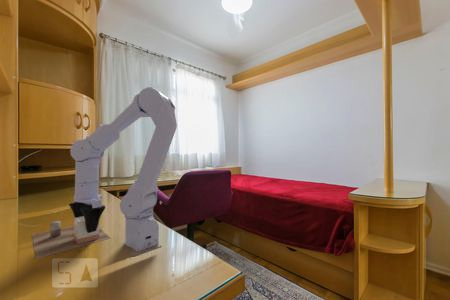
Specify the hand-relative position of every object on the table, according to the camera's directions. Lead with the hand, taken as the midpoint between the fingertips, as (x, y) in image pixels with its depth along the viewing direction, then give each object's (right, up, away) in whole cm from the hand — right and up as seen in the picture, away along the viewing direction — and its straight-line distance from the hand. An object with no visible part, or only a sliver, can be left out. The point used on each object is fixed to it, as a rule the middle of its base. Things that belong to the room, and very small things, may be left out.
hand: (86, 228), depth 59 cm
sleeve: (0, -3, 0) cm, 3 cm away
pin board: (-6, -4, +1) cm, 7 cm away
